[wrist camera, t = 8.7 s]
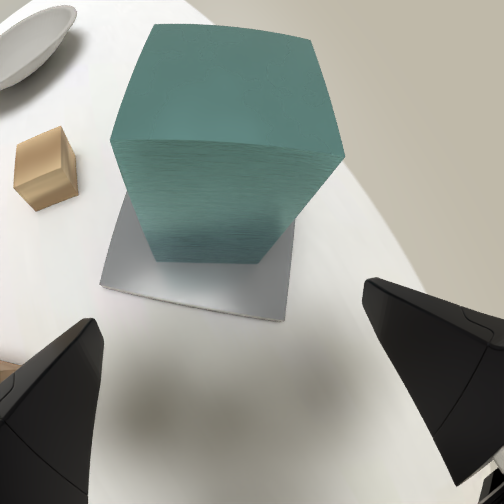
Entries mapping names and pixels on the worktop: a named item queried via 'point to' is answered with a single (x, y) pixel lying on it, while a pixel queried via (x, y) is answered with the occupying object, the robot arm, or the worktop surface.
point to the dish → (32, 42)
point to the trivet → (198, 275)
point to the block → (45, 169)
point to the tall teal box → (223, 140)
